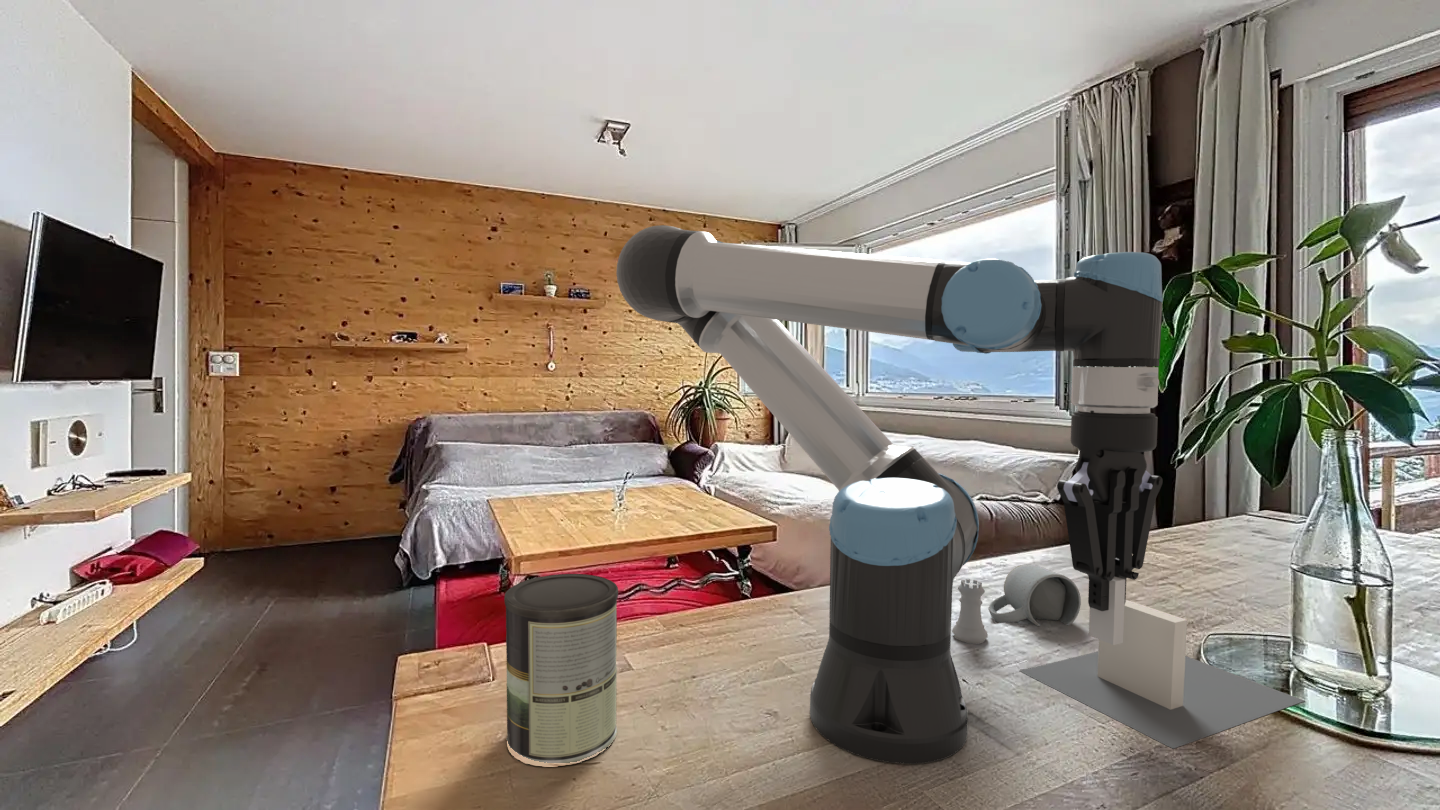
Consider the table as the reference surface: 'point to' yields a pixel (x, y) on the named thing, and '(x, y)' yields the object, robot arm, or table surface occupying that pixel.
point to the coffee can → (561, 666)
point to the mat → (1205, 711)
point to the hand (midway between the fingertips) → (1105, 638)
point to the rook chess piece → (970, 614)
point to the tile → (1147, 655)
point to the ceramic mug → (1037, 596)
